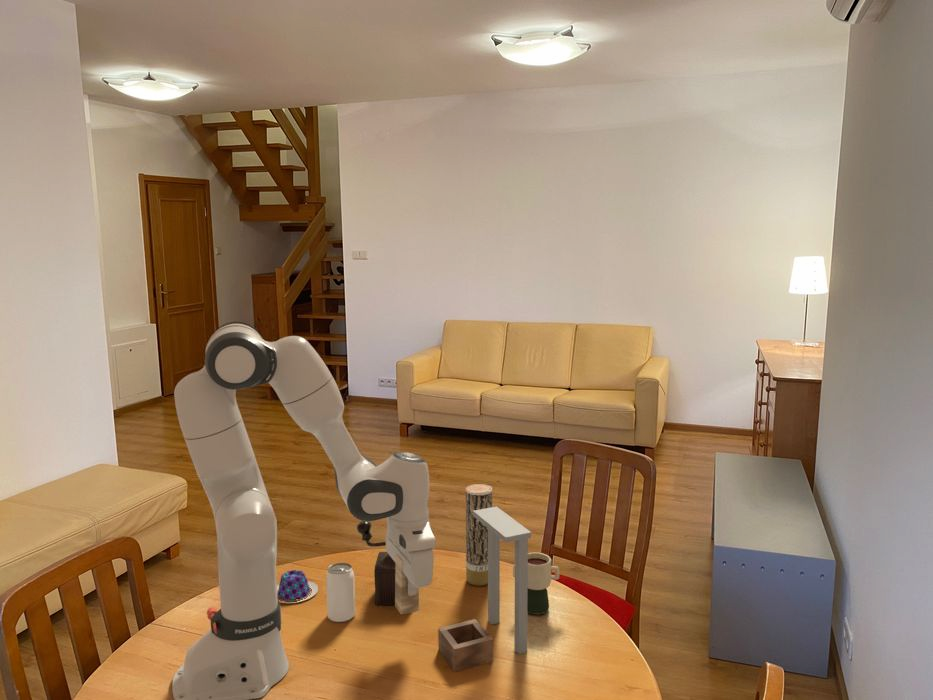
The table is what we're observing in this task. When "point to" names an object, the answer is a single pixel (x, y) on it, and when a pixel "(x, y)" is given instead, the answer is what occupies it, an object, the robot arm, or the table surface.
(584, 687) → the table surface
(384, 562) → the manual coffee grinder
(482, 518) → the u-shaped bar frame
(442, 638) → the socket
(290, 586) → the pudding
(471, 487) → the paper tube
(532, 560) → the character mug
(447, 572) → the table surface
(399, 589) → the peg
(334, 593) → the can
